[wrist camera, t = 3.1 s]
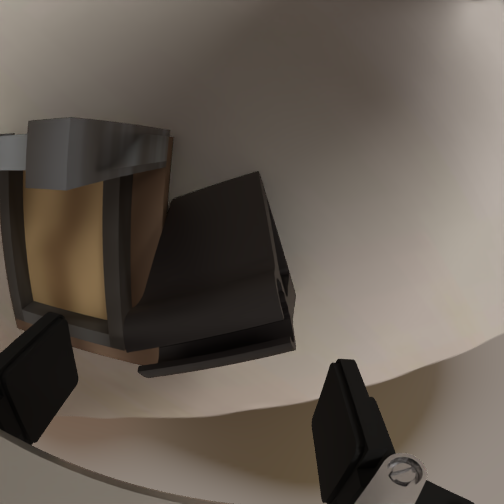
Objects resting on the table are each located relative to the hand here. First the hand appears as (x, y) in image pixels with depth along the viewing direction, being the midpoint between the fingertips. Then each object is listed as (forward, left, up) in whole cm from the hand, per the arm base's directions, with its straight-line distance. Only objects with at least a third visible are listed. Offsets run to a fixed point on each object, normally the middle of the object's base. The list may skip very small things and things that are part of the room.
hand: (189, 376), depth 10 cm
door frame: (+13, +1, -13) cm, 18 cm away
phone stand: (0, -1, -13) cm, 13 cm away
